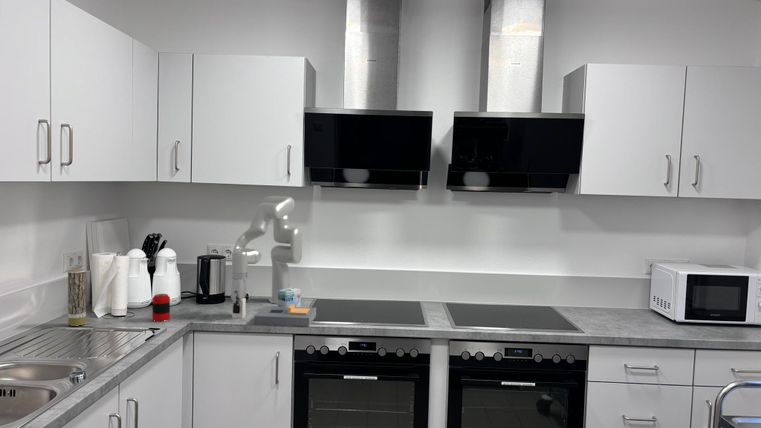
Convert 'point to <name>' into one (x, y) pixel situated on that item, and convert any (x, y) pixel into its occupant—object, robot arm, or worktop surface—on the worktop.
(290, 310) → the orange flat block
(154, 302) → the soda can
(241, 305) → the plug
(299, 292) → the light bulb box
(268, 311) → the socket plate
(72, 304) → the brown bark patterned cylinder
